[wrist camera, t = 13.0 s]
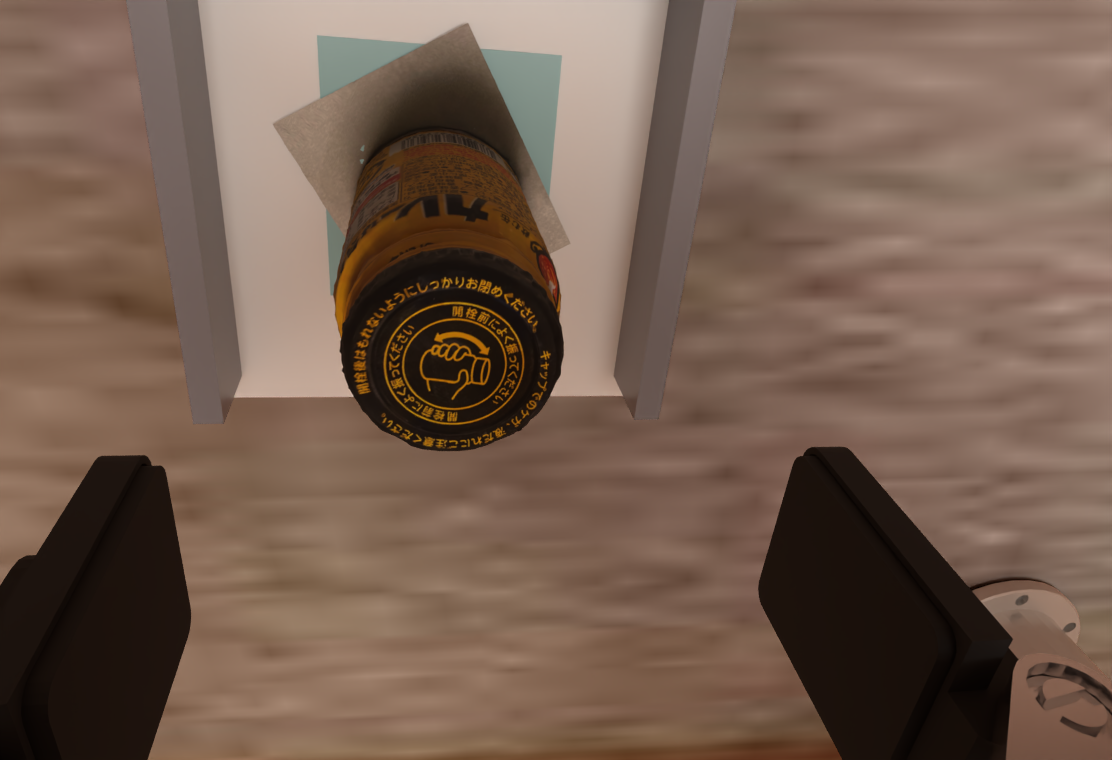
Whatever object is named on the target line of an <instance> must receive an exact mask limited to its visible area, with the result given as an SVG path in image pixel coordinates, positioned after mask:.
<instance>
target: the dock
mask: <svg viewBox="0 0 1112 760" xmlns="http://www.w3.org/2000/svg"><path fill="white" fill-rule="evenodd" d="M736 1H737V0H126V3H127V9H128V15H129V22H130V28H131V34H132V41H133V47H134V53H135V60H136V66H137V72H138V78H139V85H140V91H141V97H142V104H143V110H144V116H145V123H146V129H147V135H148V141H149V148H150V154H151V160H152V167H153V173H154V179H155V185H156V192H157V198H158V204H159V211H160V217H161V223H162V230H163V236H164V242H165V248H166V255H167V261H168V267H169V274H170V280H171V286H172V292H173V299H174V305H175V311H176V318H177V324H178V330H179V337H180V343H181V349H182V355H183V362H184V368H185V374H186V381H187V387H188V393H189V399H190V406H191V412H192V418H193V424H224V422H225V419H226V417H227V414H228V411H229V409H230V406H231V403H232V401H233V398H234V397H354V396H353V395H352V393H351V391H350V389H348V384H347V382H346V380H345V376H344V373H343V372H342V368H343V365H342V362H341V353H340V352H339V351H340V341H341V337H340V333H339V331H338V325H337V321H336V318H335V302H334V297H333V292H334V284H335V282H336V279H337V271H338V266H339V263H340V259H341V254H342V247H343V244H344V242H345V239H346V238H345V236H344V235H343V233H342V232H341V230H340V229H339V227H338V226H337V224H336V223H335V221H334V220H333V218H332V217H331V215H330V213H329V212H328V210H327V209H326V208H325V206H324V205H323V203H322V201H321V200H320V198H319V196H318V195H317V193H316V191H315V190H314V188H313V187H312V185H311V184H310V183H309V181H308V180H307V178H306V177H305V175H304V173H303V172H302V170H301V168H300V167H299V165H298V163H297V162H296V160H295V159H294V157H293V156H292V154H291V153H290V151H289V150H288V148H287V147H286V145H285V144H284V142H283V140H282V138H281V137H280V135H279V134H278V132H277V131H276V129H275V128H274V126H273V124H274V123H276V122H277V121H279V120H281V119H283V118H285V117H287V116H289V115H291V114H293V113H295V112H297V111H299V110H300V109H302V108H304V107H306V106H308V105H310V104H312V103H313V102H315V101H317V100H319V99H321V98H323V97H325V96H327V95H329V94H331V93H333V92H335V91H337V90H339V89H340V88H342V87H344V86H346V85H348V84H349V83H351V82H354V81H355V80H358V79H360V78H362V77H363V76H365V75H367V74H369V73H371V72H373V71H375V70H377V69H379V68H381V67H383V66H385V65H387V64H388V63H390V62H392V61H394V60H396V59H398V58H400V57H402V56H404V55H406V54H408V53H410V52H412V51H414V50H415V49H417V48H419V47H421V46H423V45H425V44H427V43H429V42H431V41H433V40H435V39H437V38H439V37H441V36H443V35H446V34H447V33H449V32H451V31H453V30H455V29H457V28H459V27H461V26H463V25H465V24H467V23H468V24H469V26H470V28H471V30H472V32H473V35H474V37H475V39H476V41H477V43H478V45H479V47H480V50H481V52H482V54H483V56H484V59H485V61H486V63H487V65H488V67H489V69H490V71H491V73H492V76H493V78H494V79H495V82H496V84H497V86H498V89H499V91H500V93H501V95H502V97H503V99H504V101H505V104H506V106H507V108H508V110H509V112H510V115H511V117H512V119H513V121H514V123H515V125H516V127H517V129H518V131H519V134H520V136H521V138H522V139H523V142H524V144H525V147H526V149H527V151H528V153H529V155H530V157H531V160H532V162H533V164H534V166H535V168H536V170H537V172H538V175H539V177H540V179H541V181H542V183H543V185H544V187H545V190H546V192H547V194H548V196H549V198H550V200H551V203H552V205H553V207H554V209H555V211H556V213H557V215H558V218H559V220H560V222H561V224H562V226H563V228H564V230H565V233H566V235H567V237H568V239H569V241H570V243H571V244H569V245H567V246H565V247H563V248H561V249H559V250H557V251H555V252H553V253H551V254H550V257H551V259H552V260H553V264H554V266H555V269H556V273H557V278H558V281H559V285H560V293H561V309H560V316H559V321H560V324H561V326H562V334H563V340H564V357H563V361H562V365H561V375H560V377H559V379H558V380H557V382H556V384H555V386H554V388H553V391H552V393H551V395H550V396H623V397H624V399H625V401H626V403H627V406H628V408H629V410H630V412H631V414H632V416H633V418H634V420H643V419H659V415H660V410H661V404H662V399H663V394H664V388H665V383H666V377H667V372H668V367H669V361H670V356H671V351H672V345H673V340H674V334H675V329H676V324H677V318H678V313H679V308H680V302H681V297H682V291H683V286H684V281H685V275H686V270H687V265H688V259H689V254H690V248H691V243H692V238H693V232H694V227H695V222H696V216H697V211H698V205H699V200H700V195H701V189H702V184H703V178H704V173H705V168H706V162H707V157H708V152H709V146H710V141H711V135H712V130H713V125H714V119H715V114H716V109H717V103H718V98H719V92H720V87H721V82H722V76H723V71H724V66H725V60H726V55H727V49H728V44H729V39H730V33H731V28H732V23H733V17H734V12H735V6H736ZM360 150H361V151H364V145H363V146H362V148H361V149H360ZM363 161H364V159H361V160H360V162H361V164H362V163H363Z"/></svg>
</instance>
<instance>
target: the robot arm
mask: <svg viewBox="0 0 1112 760" xmlns="http://www.w3.org/2000/svg"><path fill="white" fill-rule="evenodd" d="M758 591H759V598H760V602H761V605H762V607H763V609H764V611H765V613H766V615H767V617H768V619H769V620H770V622H771V624H772V626H773V628H774V630H775V632H776V634H777V636H778V638H779V639H780V641H781V643H782V645H783V647H784V649H785V651H786V653H787V655H788V657H789V658H790V660H791V662H792V664H793V666H794V668H795V670H796V672H797V674H798V676H799V678H800V679H801V681H802V683H803V685H804V687H805V689H806V691H807V693H808V695H809V697H810V698H811V700H812V702H813V704H814V706H815V708H816V710H817V712H818V714H819V716H820V717H821V719H822V721H823V723H824V725H825V727H826V729H827V731H828V733H829V735H830V737H831V738H832V740H833V742H834V744H835V746H836V748H837V750H838V752H839V754H840V756H841V757H842V759H843V760H1112V682H1111V681H1110V680H1109V678H1108V677H1107V676H1106V675H1105V674H1104V673H1103V672H1102V671H1101V670H1100V669H1099V668H1098V667H1097V666H1096V665H1095V664H1094V663H1093V662H1092V661H1091V659H1090V658H1089V657H1088V656H1087V655H1086V654H1085V653H1084V652H1083V651H1082V650H1081V649H1080V648H1079V647H1078V646H1077V645H1076V644H1077V641H1078V637H1079V633H1080V618H1079V615H1078V612H1077V610H1076V608H1075V607H1074V605H1073V604H1072V603H1071V602H1070V601H1069V600H1068V599H1067V598H1066V597H1065V596H1064V595H1063V594H1062V593H1061V592H1060V591H1058V590H1057V589H1056V588H1055V587H1052V586H1050V585H1048V584H1045V583H1042V582H1036V581H1031V580H1013V581H1006V582H1000V583H994V584H990V585H987V586H984V587H981V588H977V589H975V590H972V591H971V589H970V588H969V587H968V586H967V585H966V584H965V583H964V581H963V580H962V579H961V578H960V577H959V576H958V574H957V573H956V572H955V571H954V570H953V569H952V567H951V566H950V565H949V564H948V563H947V562H946V561H945V559H944V558H943V557H942V556H941V555H940V554H939V552H938V551H937V550H936V549H935V548H934V547H933V545H932V544H931V543H930V542H929V541H928V540H927V539H926V537H925V536H924V535H923V534H922V533H921V532H920V530H919V529H918V528H917V527H916V526H915V525H914V523H913V522H912V521H911V520H910V519H909V518H908V517H907V515H906V514H905V513H904V512H903V511H902V510H901V508H900V507H899V506H898V505H897V504H896V503H895V501H894V500H893V499H892V498H891V497H890V496H889V495H888V493H887V492H886V491H885V490H884V489H883V488H882V486H881V485H880V484H879V483H878V482H877V481H876V479H875V478H874V477H873V476H872V475H871V474H870V473H869V471H868V470H867V469H866V468H865V467H864V466H863V464H862V463H861V462H860V461H859V460H858V459H857V457H856V456H855V455H854V454H853V453H852V452H851V451H850V450H849V449H848V448H845V447H811V448H809V449H807V450H806V452H805V453H804V455H803V456H800V457H797V458H796V460H795V461H794V464H793V466H792V470H791V473H790V477H789V480H788V484H787V487H786V491H785V494H784V497H783V501H782V504H781V508H780V511H779V515H778V518H777V522H776V525H775V528H774V532H773V535H772V539H771V542H770V546H769V549H768V553H767V556H766V559H765V563H764V566H763V570H762V573H761V577H760V580H759V587H758ZM190 624H191V608H190V602H189V597H188V591H187V586H186V580H185V575H184V569H183V564H182V558H181V553H180V547H179V542H178V536H177V531H176V526H175V520H174V515H173V509H172V504H171V498H170V493H169V487H168V482H167V476H166V472H165V469H164V468H163V467H162V466H152V465H151V462H150V460H149V458H148V457H147V456H145V455H137V456H101V457H98V458H97V459H96V460H95V462H94V463H93V465H92V466H91V468H90V470H89V471H88V473H87V474H86V476H85V478H84V479H83V481H82V482H81V484H80V486H79V487H78V489H77V490H76V492H75V494H74V495H73V497H72V498H71V500H70V502H69V503H68V505H67V506H66V508H65V510H64V511H63V513H62V514H61V516H60V518H59V519H58V521H57V522H56V524H55V526H54V527H53V529H52V530H51V532H50V534H49V535H48V537H47V538H46V540H45V542H44V543H43V545H42V546H41V548H40V550H39V551H38V553H37V555H29V556H25V557H23V558H21V559H19V560H18V561H17V562H16V564H15V565H14V566H13V567H12V568H11V570H10V571H9V573H8V574H7V576H6V577H5V579H4V580H3V582H2V584H1V585H0V760H147V759H148V756H149V753H150V750H151V747H152V744H153V741H154V738H155V735H156V732H157V729H158V726H159V723H160V720H161V717H162V714H163V711H164V708H165V705H166V702H167V699H168V696H169V693H170V690H171V687H172V684H173V681H174V678H175V675H176V672H177V669H178V666H179V662H180V659H181V656H182V653H183V650H184V647H185V644H186V641H187V638H188V635H189V631H190Z"/></svg>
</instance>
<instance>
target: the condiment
mask: <svg viewBox="0 0 1112 760" xmlns="http://www.w3.org/2000/svg"><path fill="white" fill-rule="evenodd" d="M273 126H274V128H275V129H276V131H277V132H278V134H279V135H280V137H281V138H282V140H283V142H284V144H285V145H286V147H287V148H288V150H289V151H290V153H291V154H292V156H293V157H294V159H295V160H296V162H297V163H298V165H299V167H300V168H301V170H302V172H303V173H304V175H305V177H306V178H307V180H308V181H309V183H310V184H311V185H312V187H313V188H314V190H315V191H316V193H317V195H318V196H319V198H320V200H321V201H322V203H323V205H324V206H325V208H326V209H327V210H328V212H329V213H330V215H331V217H332V218H333V220H334V221H335V223H336V224H337V226H338V227H339V229H340V230H341V232H342V233H343V235H344V236H345V238H346V239H345V242H344V244H343V247H342V254H341V259H340V263H339V266H338V271H337V279H336V282H335V284H334V292H333V297H334V302H335V318H336V321H337V325H338V331H339V333H340V337H341V341H340V351H339V352H340V353H341V362H342V365H343V368H342V372H343V373H344V376H345V380H346V382H347V384H348V389H350V391H351V393H352V395H353V396H354V398H355V399H356V400H357V402H358V403H359V405H360V407H361V409H362V410H363V412H365V413H366V414H367V415H368V416H369V418H370V419H371V420H372V422H374V423H375V424H376V425H377V426H378V427H379V428H380V429H381V430H382V431H384V432H387V433H389V434H391V435H394V436H396V437H398V438H400V439H402V440H403V441H405V442H407V443H408V444H409V445H411V446H413V447H417V448H420V449H427V450H435V451H462V450H471V449H476V448H479V447H482V446H486V445H488V444H491V443H493V442H494V441H497V440H500V439H502V438H505V437H507V436H510V435H512V434H514V433H515V432H517V431H520V430H522V428H523V427H524V426H526V425H527V424H528V422H529V421H530V420H531V419H532V418H533V417H535V416H536V415H537V414H538V413H539V412H540V410H541V409H542V408H543V406H544V405H545V403H546V402H547V400H548V398H549V397H550V395H551V393H552V391H553V388H554V386H555V384H556V382H557V380H558V379H559V377H560V375H561V365H562V361H563V357H564V340H563V334H562V326H561V324H560V321H559V316H560V309H561V293H560V285H559V281H558V278H557V273H556V269H555V266H554V264H553V260H552V259H551V257H550V254H551V253H553V252H555V251H557V250H559V249H561V248H563V247H565V246H567V245H569V244H571V243H570V241H569V239H568V237H567V235H566V233H565V230H564V228H563V226H562V224H561V222H560V220H559V218H558V215H557V213H556V211H555V209H554V207H553V205H552V203H551V200H550V198H549V196H548V194H547V192H546V190H545V187H544V185H543V183H542V181H541V179H540V177H539V175H538V172H537V170H536V168H535V166H534V164H533V162H532V160H531V157H530V155H529V153H528V151H527V149H526V147H525V144H524V142H523V139H522V138H521V136H520V134H519V131H518V129H517V127H516V125H515V123H514V121H513V119H512V117H511V115H510V112H509V110H508V108H507V106H506V104H505V101H504V99H503V97H502V95H501V93H500V91H499V89H498V86H497V84H496V82H495V79H494V78H493V76H492V73H491V71H490V69H489V67H488V65H487V63H486V61H485V59H484V56H483V54H482V52H481V50H480V47H479V45H478V43H477V41H476V39H475V37H474V35H473V32H472V30H471V28H470V26H469V24H468V23H467V24H465V25H463V26H461V27H459V28H457V29H455V30H453V31H451V32H449V33H447V34H446V35H443V36H441V37H439V38H437V39H435V40H433V41H431V42H429V43H427V44H425V45H423V46H421V47H419V48H417V49H415V50H414V51H412V52H410V53H408V54H406V55H404V56H402V57H400V58H398V59H396V60H394V61H392V62H390V63H388V64H387V65H385V66H383V67H381V68H379V69H377V70H375V71H373V72H371V73H369V74H367V75H365V76H363V77H362V78H360V79H358V80H355V81H354V82H351V83H349V84H348V85H346V86H344V87H342V88H340V89H339V90H337V91H335V92H333V93H331V94H329V95H327V96H325V97H323V98H321V99H319V100H317V101H315V102H313V103H312V104H310V105H308V106H306V107H304V108H302V109H300V110H299V111H297V112H295V113H293V114H291V115H289V116H287V117H285V118H283V119H281V120H279V121H277V122H276V123H274V124H273ZM363 145H364V151H361V150H360V149H361V148H362V146H363ZM361 159H364V161H363V163H362V164H361V162H360V160H361Z"/></svg>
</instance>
